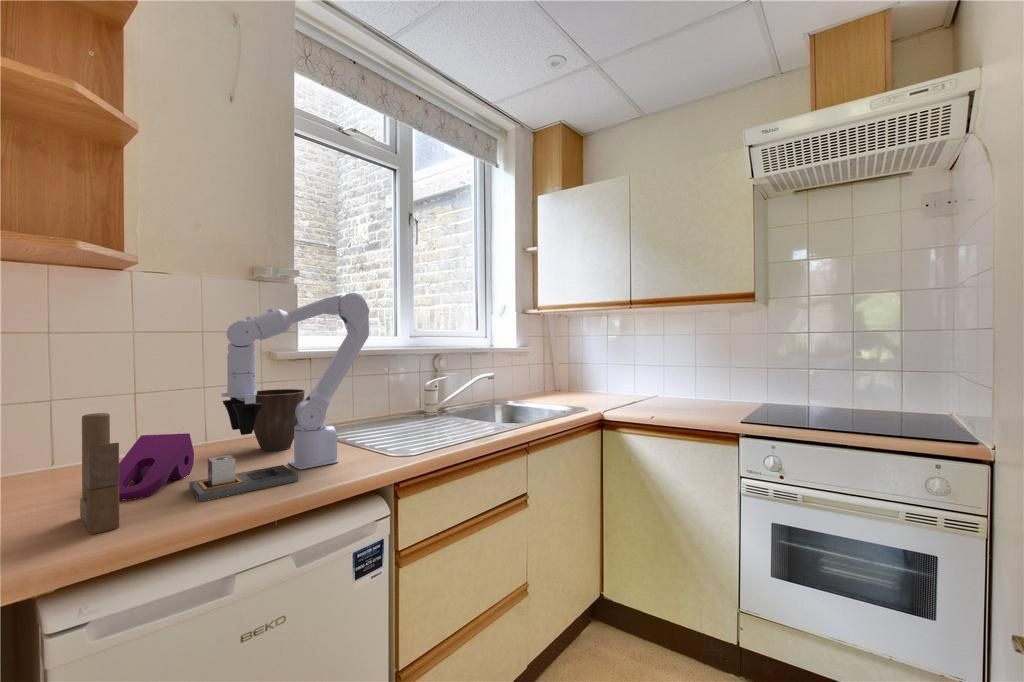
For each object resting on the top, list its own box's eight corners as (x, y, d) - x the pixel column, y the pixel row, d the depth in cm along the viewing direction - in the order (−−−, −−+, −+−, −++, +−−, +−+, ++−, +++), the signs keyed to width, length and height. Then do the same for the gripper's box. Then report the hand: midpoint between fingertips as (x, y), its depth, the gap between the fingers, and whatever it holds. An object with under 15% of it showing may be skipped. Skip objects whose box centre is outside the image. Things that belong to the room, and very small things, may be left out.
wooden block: (89, 535, 71) (89, 422, 71) (79, 518, 78) (79, 414, 78) (120, 528, 74) (119, 418, 74) (108, 511, 81) (107, 411, 81)
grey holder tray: (282, 471, 106) (282, 464, 106) (298, 481, 98) (298, 473, 98) (189, 489, 93) (189, 481, 93) (199, 502, 86) (199, 493, 86)
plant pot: (237, 448, 127) (237, 391, 127) (292, 439, 138) (292, 387, 138) (256, 458, 117) (256, 396, 117) (314, 447, 128) (313, 391, 128)
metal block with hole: (230, 485, 96) (230, 454, 96) (235, 490, 93) (235, 458, 93) (207, 490, 93) (208, 458, 93) (212, 494, 90) (212, 462, 90)
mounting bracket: (162, 522, 91) (196, 462, 107) (152, 491, 87) (189, 433, 103) (106, 527, 89) (149, 464, 104) (94, 495, 85) (141, 435, 101)
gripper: (214, 372, 107) (214, 429, 107) (229, 376, 97) (229, 439, 97) (247, 370, 112) (248, 425, 112) (265, 374, 102) (265, 434, 102)
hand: (241, 431), depth 105 cm, fingers open, 7 cm apart
